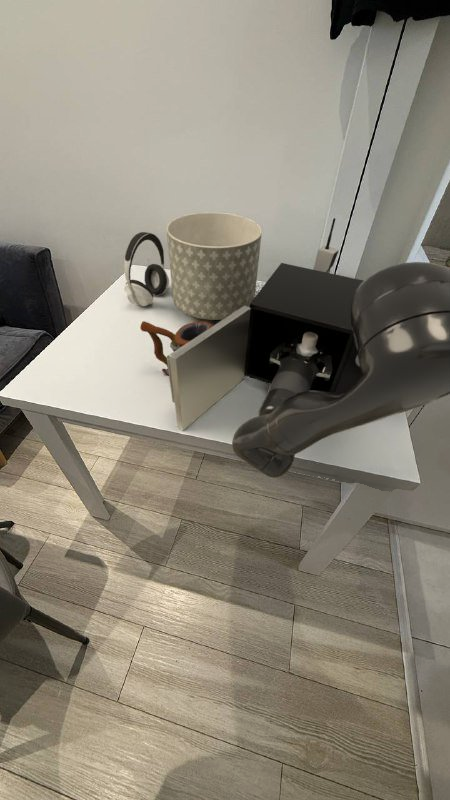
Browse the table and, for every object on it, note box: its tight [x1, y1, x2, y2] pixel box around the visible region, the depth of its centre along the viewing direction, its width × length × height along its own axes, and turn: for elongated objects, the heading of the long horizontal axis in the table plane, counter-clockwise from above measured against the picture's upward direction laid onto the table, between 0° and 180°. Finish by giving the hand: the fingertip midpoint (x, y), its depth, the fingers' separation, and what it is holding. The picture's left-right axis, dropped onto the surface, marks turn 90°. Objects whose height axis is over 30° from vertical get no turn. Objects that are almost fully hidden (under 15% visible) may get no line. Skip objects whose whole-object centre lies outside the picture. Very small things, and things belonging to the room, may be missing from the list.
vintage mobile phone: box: [313, 217, 340, 273], centre depth 100 cm, size 4×5×25 cm
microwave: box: [244, 262, 365, 393], centre depth 77 cm, size 24×28×20 cm
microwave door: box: [166, 306, 251, 432], centre depth 69 cm, size 5×22×20 cm, turn 141°
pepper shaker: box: [296, 332, 318, 357], centre depth 76 cm, size 4×4×10 cm
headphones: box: [123, 231, 170, 307], centre depth 99 cm, size 19×8×20 cm, turn 157°
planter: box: [166, 211, 263, 321], centre depth 95 cm, size 25×25×24 cm
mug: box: [139, 320, 214, 376], centre depth 76 cm, size 18×12×15 cm, turn 78°
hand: (310, 342), depth 76 cm, fingers closed on pepper shaker, 5 cm apart
